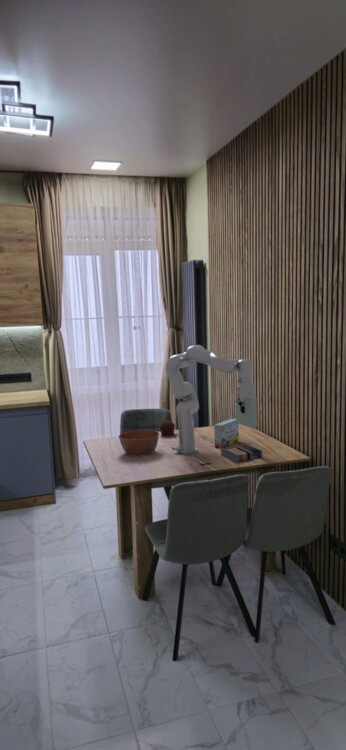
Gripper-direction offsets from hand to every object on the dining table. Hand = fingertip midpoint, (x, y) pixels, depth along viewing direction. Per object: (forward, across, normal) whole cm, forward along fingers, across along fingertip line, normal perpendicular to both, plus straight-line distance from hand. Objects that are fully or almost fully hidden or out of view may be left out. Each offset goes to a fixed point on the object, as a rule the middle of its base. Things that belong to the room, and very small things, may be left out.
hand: (246, 412), depth 293 cm
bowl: (+27, -50, +45) cm, 72 cm away
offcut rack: (+26, -4, 0) cm, 27 cm away
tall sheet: (+7, 0, 0) cm, 7 cm away
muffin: (+27, -18, +77) cm, 83 cm away
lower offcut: (+25, -8, 0) cm, 27 cm away
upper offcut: (+24, -8, 0) cm, 25 cm away
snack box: (+27, +4, +31) cm, 41 cm away
